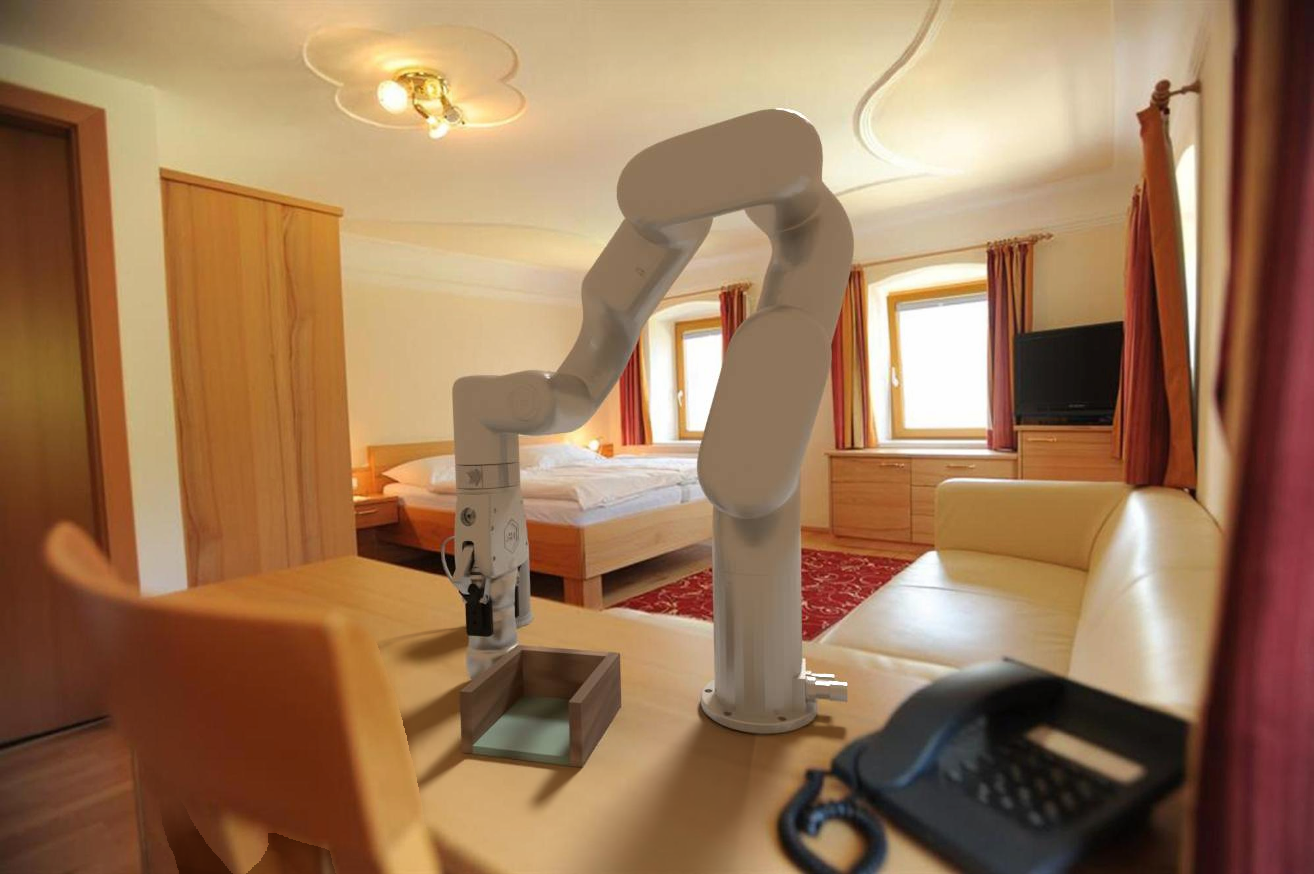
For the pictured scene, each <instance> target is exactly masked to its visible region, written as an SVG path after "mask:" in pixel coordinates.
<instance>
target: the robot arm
mask: <svg viewBox="0 0 1314 874" xmlns="http://www.w3.org/2000/svg"><path fill="white" fill-rule="evenodd" d="M823 153H824V152H823V144H822V140H821V137H820V135H819V133H818V131H817V128H816V127H815V125H813V122H811V121H810V119H808V118H807V117H805V116H804V115H802V114H801V113H800V112H797V111H794V110H791V109H785V108H769V109H768V108H767V109H760V110H756V111H752V112H748V113H745V114H743V115H738V116H735V117H734V118H730V119H726V120H723V121H720V122H719V121H718V122H715V123H714V124H709V125H706V126H702V127H700V128H697V129H694V130H690V131H687V132H684V133H681V134H678V135H675V136H672V137H670V138H666V139H664V140H662V141H658V142H656V143H655V144H652V145H650V146H648V147H646V148H643V149H642V150H641V151H639V152H638V153H637V154H636V155H634V156H633V157H632V158H631V159H630V160H629V161H628V162H627V163H626V165H625V166H624V168H622V170H621V173H620V175H619V177H618V181H617V185H616V200H617V205H618V207H619V209H620V212H621V214H622V216H623V218H624V219H623V220H622V222H621V223H620V224H619V227H618V228H617V229H616V231H615V232H614V234H613V235H612V236H611V238H610V240H609V241H608V242H607V244H606V246H605V247H604V248H603V250H602V251H601V253H600V255H599V256H598V257H597V258H596V260H595V261H594V263H593V265H592V266H591V267H590V268H589V270H588V271H587V273H586V274H585V276H584V277H583V279H582V282H581V289H580V290H581V291H580V292H581V293H580V296H581V303H582V304H581V306H582V323H581V327H580V330H579V333H578V336H577V338H576V340H575V342H574V345H573V346H572V348H571V350H570V351H569V352H568V354H567V356H566V357H565V359H564V360H563V361H562V362H561V365H560V366H559V367H558V369H557V370H556V371H552V370H551V371H549V370H548V371H547V370H540V369H525V370H520V371H517V372H512V373H507V374H502V375H499V374H498V375H497V374H478V375H477V374H475V375H474V374H473V375H465V376H460V377H458V378H457V379H456V380H455V381H454V382H453V384H452V389H451V390H452V393H451V395H452V396H451V398H452V419H453V421H452V424H453V425H452V426H453V442H454V443H453V445H454V464H455V465H454V469H455V470H454V472H455V474H454V475H455V492H456V493H457V494H456V502H455V503H456V504H455V514H454V515H455V517H454V536H455V539H454V562H455V571H454V573H453V574H452V575H453V576H452V583H451V584H452V585H453V586H454V587H455V589H457V591H458V593H459V594H460V596H461V600H462V603H463V604H465V605H464V606H465V609H464V610H465V631H466V632H465V633H466V635H467V636H468V637H469V636H482V637H490V636H491V635H492V634H493V612H492V602H491V601H488V599H489V592H490V585H491V578H497V577H499V576H501V575H503V574H505V573H506V572H507V571H509V567H508V565H509V562H510V560H511V559H512V558H513V557H514V558H516V560H517V568H516V569H517V572H516V583H515V585H518V584H519V582H520V576H519V571H520V568H521V565H522V564H523V563H524V562H525V561H526V560H527V558H528V542H529V540H528V526H527V527H526V525H527V517H526V508H525V503H524V497H523V493H522V489H521V468H520V467H521V465H520V464H521V463H520V439H519V438H520V437H519V435H520V436H532V437H533V436H534V437H541V436H542V437H543V436H549V435H550V436H551V435H557V434H558V435H559V434H566V433H567V434H568V433H572V432H575V431H577V430H579V429H581V427H583V426H585V425H586V423H588V422H589V421H590V419H592V417H593V416H594V415H595V414H596V413H597V411H598V409H600V407H601V405H602V404H603V403H604V402H605V400H606V399H607V397H608V396H609V395H610V394H611V392H612V391H613V389H614V388H615V386H616V385H617V383H618V381H619V380H620V378H621V377H622V375H623V373H624V371H625V369H626V367H627V366H628V363H629V361H630V359H631V356H632V354H633V352H634V350H635V348H636V346H637V344H638V342H639V339H640V337H641V334H642V331H643V328H644V327H645V325H646V324H647V322H648V321H649V320H650V318H651V316H652V315H653V313H654V312H655V310H656V309H657V308H658V306H659V305H660V304H661V302H662V301H663V299H664V298H665V296H667V293H668V292H669V291H670V289H671V288H672V287H673V285H674V284H675V282H676V281H677V279H678V278H679V277H680V275H681V274H682V273H683V272H684V270H685V268H687V266H688V264H689V263H690V262H691V260H692V259H693V258H694V256H695V255H696V253H697V252H698V250H699V249H700V247H701V246H702V245H703V243H704V242H705V240H706V238H707V237H708V235H709V233H710V231H711V228H712V225H713V221H714V218H716V217H720V216H724V215H728V214H732V213H737V212H740V211H744V213H745V214H746V216H747V217H748V218H749V220H750V221H751V223H753V224H754V225H755V226H756V227H757V228H758V229H760V230H761V231H762V232H763V233H764V234H765V235H766V236H767V237H768V239H769V242H770V244H771V245H770V246H771V256H770V260H769V261H768V265H767V268H766V270H765V275H764V277H763V281H762V282H763V283H762V288H761V293H760V295H759V298H758V301H757V306H756V309H755V312H753V313H752V314H750V315H749V316H748V317H747V318H746V319H744V320H743V321H742V322H741V323H740V324H739V326H738V327H737V328H736V330H735V331H734V334H733V335H732V337H731V339H730V341H729V344H728V346H727V349H726V351H725V354H724V358H723V362H722V365H721V369H720V372H719V376H718V379H717V383H716V386H715V390H714V394H713V398H712V402H711V404H710V409H709V413H708V416H707V419H706V423H705V426H704V430H703V434H702V438H701V441H700V445H699V449H698V454H697V458H696V459H697V460H696V473H697V474H696V475H697V478H698V479H697V480H698V482H699V486H700V489H701V491H702V492H703V495H704V496H705V498H706V499H707V501H708V502H709V503H710V504H711V505H712V525H711V526H712V527H711V528H712V531H711V534H712V535H711V541H712V547H711V548H712V549H711V551H712V604H713V605H712V609H713V610H712V611H713V612H712V615H713V618H712V619H713V657H714V660H713V663H714V669H713V670H714V673H713V674H714V679H712V680H710V681H709V682H708V683H706V684H705V685H704V687H703V688H702V690H701V692H700V705H701V709H702V711H703V712H704V714H706V715H707V716H708V717H709V718H710V719H711V720H712V721H714V722H716V723H718V724H720V725H721V726H724V727H726V728H729V729H733V730H736V731H739V732H746V733H750V734H765V735H767V734H770V735H771V734H779V733H780V734H781V733H787V732H792V731H794V730H798V729H800V728H802V727H805V726H806V725H808V724H810V722H812V721H813V720H814V719H815V718H816V717H817V714H818V712H819V705H818V704H819V703H818V700H825V701H826V700H827V701H828V700H829V701H831V702H839V703H848V683H847V682H845V681H844V682H843V681H835V674H833V673H814V672H813V673H812V670H810V669H809V670H808V669H807V667H806V665H807V664H806V662H807V661H806V659H807V658H806V657H805V658H804V657H803V626H802V625H803V622H802V621H803V620H802V617H803V616H802V613H803V612H802V611H803V610H802V605H803V604H802V543H801V542H802V531H801V529H802V527H801V526H802V525H801V521H802V520H801V516H802V515H801V506H802V504H801V502H802V501H801V498H802V497H801V495H802V494H801V490H802V486H801V483H802V482H801V481H802V477H801V476H802V470H801V468H802V465H803V461H804V459H805V456H806V452H807V449H808V445H809V442H810V440H811V435H812V432H813V429H814V426H815V422H816V419H817V415H818V412H819V409H820V406H821V402H822V398H823V395H824V392H825V388H826V385H827V381H828V379H829V378H828V377H829V375H830V370H831V367H832V366H831V365H832V360H833V359H832V358H833V357H832V356H833V355H832V353H833V352H832V351H833V350H832V343H833V339H834V335H835V332H836V328H837V326H838V321H839V317H840V314H841V310H842V306H843V302H844V298H845V295H846V290H847V287H848V283H849V279H850V276H851V275H850V274H851V270H852V265H853V258H854V251H855V250H854V249H855V241H854V231H853V227H852V223H851V221H850V219H849V216H848V213H847V211H846V209H845V207H844V206H843V204H842V203H841V202H840V200H839V199H838V197H837V196H836V195H835V194H834V193H833V191H831V190H830V188H829V187H828V186H827V185H826V183H824V181H823V166H824V165H823V164H824V163H823V162H824V161H823V160H824V155H823ZM472 568H479V570H480V572H481V574H482V575H472V574H471V571H472ZM473 580H476V581H482V584H481V590H480V589H479V587H478V586H477V585H476V584H473ZM514 606H515V618H517V617H518V616H519V590H518V586H515V603H514Z"/></svg>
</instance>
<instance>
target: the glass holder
mask: <svg viewBox="0 0 1314 874" xmlns="http://www.w3.org/2000/svg"><path fill="white" fill-rule="evenodd" d="M526 527H527V528H528V526H527V524H526ZM453 539H455V535H453V536H450V537H448V538H447V539H445V540H444V541H443V542H442V545H441V550H440V551H441V552H440V553H441V554H440V555H441V562H442V566H443V571H444V572H445V574H446V576H447V578H448V579H449V581H450V582H451V584H452V577H453V576H452V575H451V572H450V570H449V568H448V566H447V562H446V558H445V546H446V545H447V542H449V541H450V540H453ZM529 546H530V545H529V541H528V558H527V560H526V561H525V562H524V563H523V564H522V565H521V568H520V571H519V576H520V582H519V584H518V585H515V586H518V590H519V616H518V617H517V618H515V620H516V628H517V629H521V628H523V627H522V626H524V627H526V626H528V625H530V624H531V623H533V621H534V620H533V618H534V615H533V614H532V611H531V609H532V608H531V580H530V576H531V575H530V547H529ZM532 620H533V621H532ZM530 622H531V623H530ZM529 623H530V624H529ZM527 624H528V625H527ZM520 627H521V628H520Z"/></svg>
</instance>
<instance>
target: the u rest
mask: <svg viewBox="0 0 1314 874" xmlns="http://www.w3.org/2000/svg"><path fill="white" fill-rule="evenodd" d="M621 676H622V673H621V652H615V651H614V652H611V651H602V650H601V651H600V650H588V649H587V650H586V649H575V648H562V647H546V646H537V645H536V646H533V645H523V644H522V645H521V644H520V645H517V646H515V647H514V648H513V649H512V650H510V651H509V652H508V653H507V654H505V655H504V656H503V657H502V658H501V659H499V660H498V661H497V662H496V663H494V664H493V665H492V666H491V667H489V668H488V669H487V670H486V671H484V672H483V673H482V674H481V675H479V676H478V677H477V678H476V679H474V680H473V681H472V680H471V682H469V683H468V684H466V686H464V687H463V688H462V689H460V690H459V705H460V706H459V712H460V713H459V715H460V716H459V717H460V741H461V742H460V743H461V745H460V746H461V753H462V754H471V755H478V756H479V755H480V756H488V757H496V758H504V759H513V760H518V761H519V760H520V761H528V762H537V763H545V764H551V765H552V764H553V765H558V766H559V765H560V766H567V767H568V766H569V767H576V768H584V765H585V764H586V763H587V761H588V760H589V758H590V757H591V755H592V753H593V752H594V751H595V749H596V747H597V745H598V744H599V743H600V740H601V739H602V737H603V736H604V734H605V733H606V731H607V730H608V728H609V727H610V725H611V723H612V722H613V720H614V718H615V717H616V715H617V714H618V712H619V711H620V709H621V707H622V682H621V681H622V679H621Z"/></svg>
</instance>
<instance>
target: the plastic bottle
mask: <svg viewBox="0 0 1314 874" xmlns="http://www.w3.org/2000/svg"><path fill="white" fill-rule="evenodd" d="M508 567H509V571H507V572H506V573H505V574H503V575H501V576H499V577H497V578H491V585H490V592H489V599H488V601H491V602H492V612H493V634H492V635H491V636H490V637H482V636H469V635H468V646H467V648H466V657H465V658H466V659H465V667H466V671H467V675H468V678H469V679H470V680H471V682H472V681H473V680H474V679H476V678H477V677H478V676H479V675H481V674H482V673H483V672H484V671H486V670H487V669H488V668H489V667H491V666H492V665H493V664H494V663H496V662H497V661H498V660H499V659H501V658H502V657H503V656H504V655H505V654H507V653H508V652H509V651H510V650H512V649H513V648H514V647H515V646H517V645H521V644H520V640H519V638H518V637H519V635H518V630H517V629H518V628H516V620H515V606H514V603H515V583H516V572H517V569H516V568H517V560H516V558H514V557H513V558H512V559H511V560H510V562H509V565H508ZM471 574H472V575H482V574H481V572H480V570H479V568H472V571H471ZM473 584H476V585H477V586H478V587H479V589H480V590H481V584H482V581H476V580H473Z"/></svg>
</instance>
